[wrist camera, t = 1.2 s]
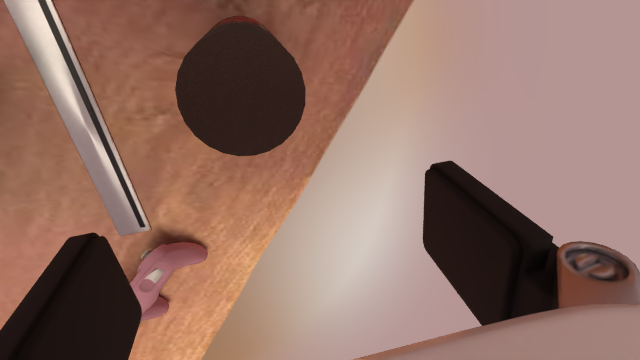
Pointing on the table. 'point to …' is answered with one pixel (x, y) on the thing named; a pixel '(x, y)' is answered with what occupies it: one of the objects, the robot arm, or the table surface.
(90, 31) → the table surface
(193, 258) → the video game controller
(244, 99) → the deodorant
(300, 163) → the table surface
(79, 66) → the ruler
